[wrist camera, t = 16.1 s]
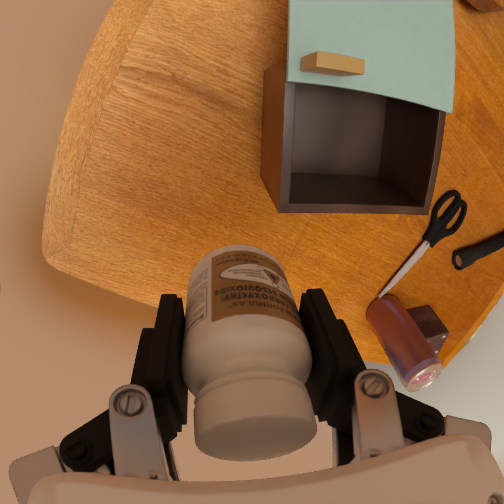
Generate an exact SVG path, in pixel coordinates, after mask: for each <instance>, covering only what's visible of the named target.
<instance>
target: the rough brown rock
mask: <svg viewBox="0 0 504 504" xmlns="http://www.w3.org/2000/svg"><path fill="white" fill-rule="evenodd" d="M466 1H468V2H469V3H470V4H471V5H472V6H473V7H474V8H476V9H478V10H479V11H482V12H483V13H485V12H497V11H504V0H466Z"/></svg>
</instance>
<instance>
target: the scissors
mask: <svg viewBox="0 0 504 504" xmlns="http://www.w3.org/2000/svg"><path fill="white" fill-rule="evenodd" d="M452 196H456V198H455V200H454V202H453V203H452V204H451V205H450V207H449V208H448V209H447V210H446V212H445V213H444V215H443V217H442V218H441V219H438V218H437V214H438V211H439V209H440V208H441V206H442V205H443V204H444V202H445V201H447V200H448V199H449V198H450V197H452ZM461 206H462V210H461V214H460V216H459V218H458V220H457V222H456V223H455V225H454V226H453V227H452V228H451V229H450V230H447V228H446V226H447V224H448V223H449V222H450V221H451V219H452V218H453V217H454V216H455V214H456V213H457V211H458V210H459V208H460V207H461ZM466 211H467V204H466V202H465V201H463V200H461V195H460V193H459V192H458V191H455V190H453V191H449V192H447V193H446V194H444V195H443V196H442V197H441V198H440V199H439V200H438V202H437V203H436V205H435V206H434V208H433V211H432V217H431V222H430V225H429V228H428V230H427V232H426V233H425V235H424V236H423V240H424V242H423V243H422V245H421V246H419V247H418V249H417V250H416V251H415V252H414V254H413V255H412V256H411V257H410V258H409V260H408V261H407V262H406V263H405V264H404V266H403V267H402V268H401V269H400V270H399V272H398V273H397V274H396V275H395V276H394V278H393V279H392V280H391V281H390V283H389V284H388V285H387V286H386V287H385V289H384V290H383V291H382V292H381V294H380V295H379V296H378V297H379V298H381V297H382V296H383V295H384V294H385V293H386V292H387V291H388V290H389V289H391V288H392V287H393V286H394V285H395V284H396V283H397V282H398V281H399V280H400V279H401V278H402V277H403V276H404V275H405V274H406V272H407V271H408V270H409V269H410V268H411V267H412V266H413V265H414V264H415V263H416V262H417V260H418V259H419V258H420V257H421V256H422V255H423V254H424V253H425V251H426V249H427V248H428V247H429V246H430V247H433V246H434V245H435V244H436V243H437V242H438V241H440V240H441V239H443V238H444V237H447V236H449V235H452V234H454V233H455V232H456V231H457V230H458V229H459V227H460V226H461V224H462V222H463V220H464V218H465V215H466ZM427 242H428V244H427V245H426V243H427Z"/></svg>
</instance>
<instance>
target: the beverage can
mask: <svg viewBox="0 0 504 504" xmlns="http://www.w3.org/2000/svg"><path fill="white" fill-rule="evenodd" d="M367 320H368V322H369V324H370V326H371V327H372V329H373V331H374V333H375V334H376V336H377V338H378V340H379V342H380V343H381V345H382V347H383V349H384V351H385V353H386V354H387V356H388V358H389V360H390V362H391V364H392V365H393V367H394V369H395V371H396V373H397V375H398V377H399V378H400V380H401V383H402V384H403V386H404V387H406V389H407V390H408V391H409V392H415V391H419V390H421V389H423V388H425V387H426V386H428V385H429V384H431V383H432V382H433V381H434V380H435V379H436V378H437V377H438V376H439V375H440V373H441V371H442V368H443V367H442V365H441V363H440V359H439V357H438V356H437V354H436V353H435V351H434V350H433V348H432V347H431V345H430V344H429V342H428V341H427V339H426V338H425V336H424V335H423V333H422V332H421V330H420V329H419V328H418V326H417V325H416V323H415V322H414V320H413V319H412V318H411V316H410V315H409V313H408V312H407V311H406V309H405V308H404V306H403V305H402V304H401V302H400V301H399V300H398V298H397V297H395V296H391V295H385V296H382V297H381V298H378V299H376V300H375V301H374V302H373V303H372V304H371V305H370V307H369V309H368V312H367Z"/></svg>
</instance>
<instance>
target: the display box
mask: <svg viewBox="0 0 504 504" xmlns="http://www.w3.org/2000/svg"><path fill="white" fill-rule="evenodd" d="M286 68H287V59H286V60H284V61H282V62H280V63H278V64H276V65H275V66H273V67H271V68H269V69H267V70H265V71H264V79H263V112H262V143H261V173H260V177H261V179H262V181H263V183H264V185H265V187H266V189H267V191H268V193H269V195H270V197H271V199H272V201H273V203H274V205H275V207H276V209H277V211H278V213H375V214H410V215H428V214H429V209H430V205H431V201H432V196H433V192H434V187H435V182H436V177H437V172H438V166H439V160H440V154H441V148H442V141H443V133H444V125H445V116H446V112H443V111H440V110H437V109H434V108H430V107H427V106H423V105H420V104H416V103H412V102H408V101H404V100H400V99H396V98H392V97H387V96H383V95H378V94H373V93H368V92H362V91H357V90H351V89H345V88H338V87H331V86H324V85H315V84H306V83H295V82H286Z"/></svg>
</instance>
